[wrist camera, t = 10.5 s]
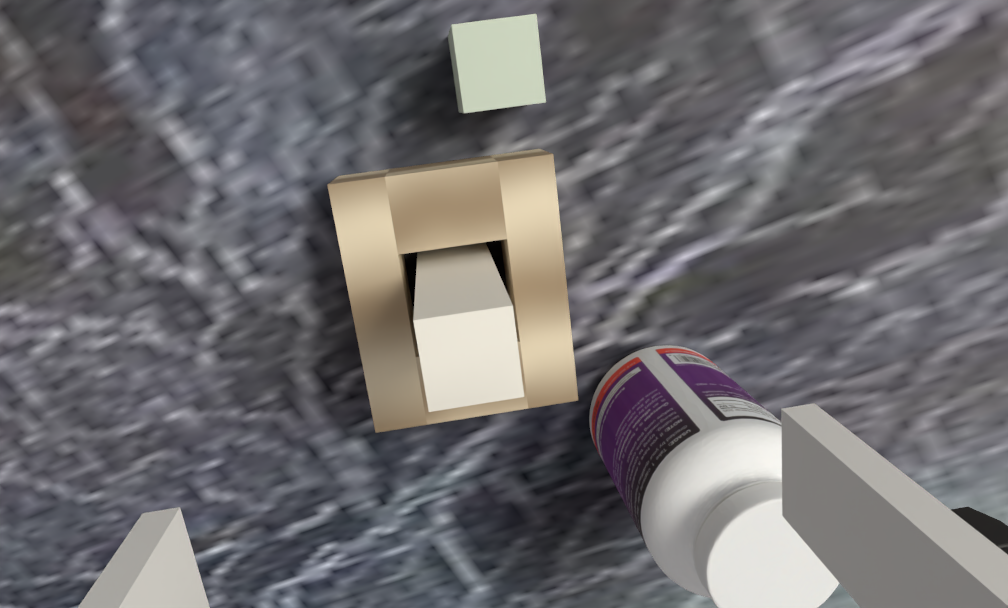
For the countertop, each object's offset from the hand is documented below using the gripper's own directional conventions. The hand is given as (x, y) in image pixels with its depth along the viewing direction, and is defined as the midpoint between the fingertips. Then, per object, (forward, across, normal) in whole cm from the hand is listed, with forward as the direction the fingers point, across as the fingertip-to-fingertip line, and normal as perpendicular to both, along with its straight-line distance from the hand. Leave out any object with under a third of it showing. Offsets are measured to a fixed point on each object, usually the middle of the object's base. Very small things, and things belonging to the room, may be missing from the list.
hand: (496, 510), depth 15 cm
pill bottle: (+22, +10, -9) cm, 26 cm away
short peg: (+22, +3, +10) cm, 24 cm away
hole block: (+22, 0, 0) cm, 22 cm away
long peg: (+22, 0, 0) cm, 22 cm away
